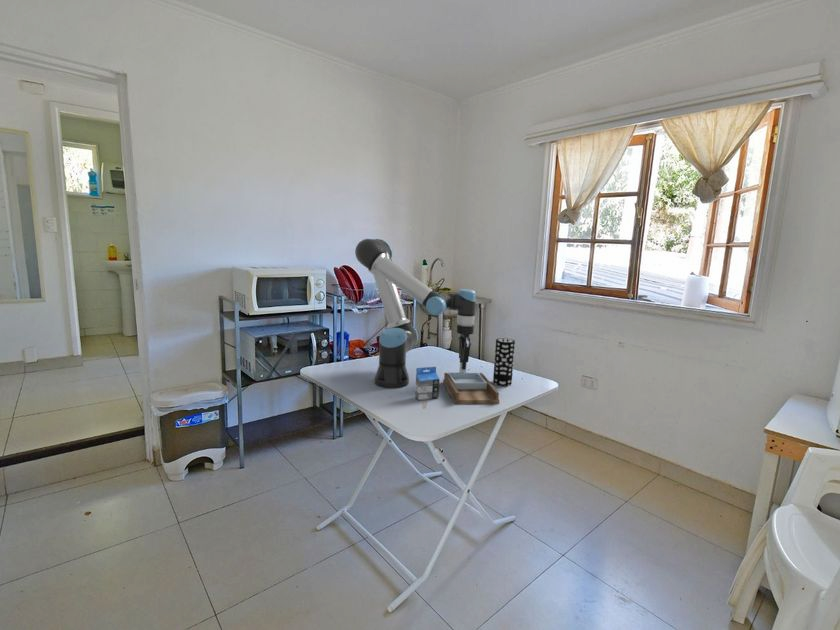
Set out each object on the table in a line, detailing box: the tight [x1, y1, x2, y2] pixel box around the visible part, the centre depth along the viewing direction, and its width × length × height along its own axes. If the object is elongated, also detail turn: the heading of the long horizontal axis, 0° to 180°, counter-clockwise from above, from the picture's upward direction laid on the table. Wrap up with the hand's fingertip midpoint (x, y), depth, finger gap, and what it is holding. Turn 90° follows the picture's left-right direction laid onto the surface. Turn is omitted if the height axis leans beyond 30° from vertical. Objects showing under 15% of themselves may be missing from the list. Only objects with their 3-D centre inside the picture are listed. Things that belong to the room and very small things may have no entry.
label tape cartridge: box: [414, 366, 440, 401], centre depth 163 cm, size 9×4×12 cm, turn 112°
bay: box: [442, 372, 500, 405], centre depth 172 cm, size 18×25×4 cm
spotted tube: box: [492, 337, 516, 387], centre depth 184 cm, size 8×8×20 cm
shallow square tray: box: [447, 372, 487, 390], centre depth 177 cm, size 14×14×3 cm
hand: (462, 375), depth 185 cm, fingers closed
